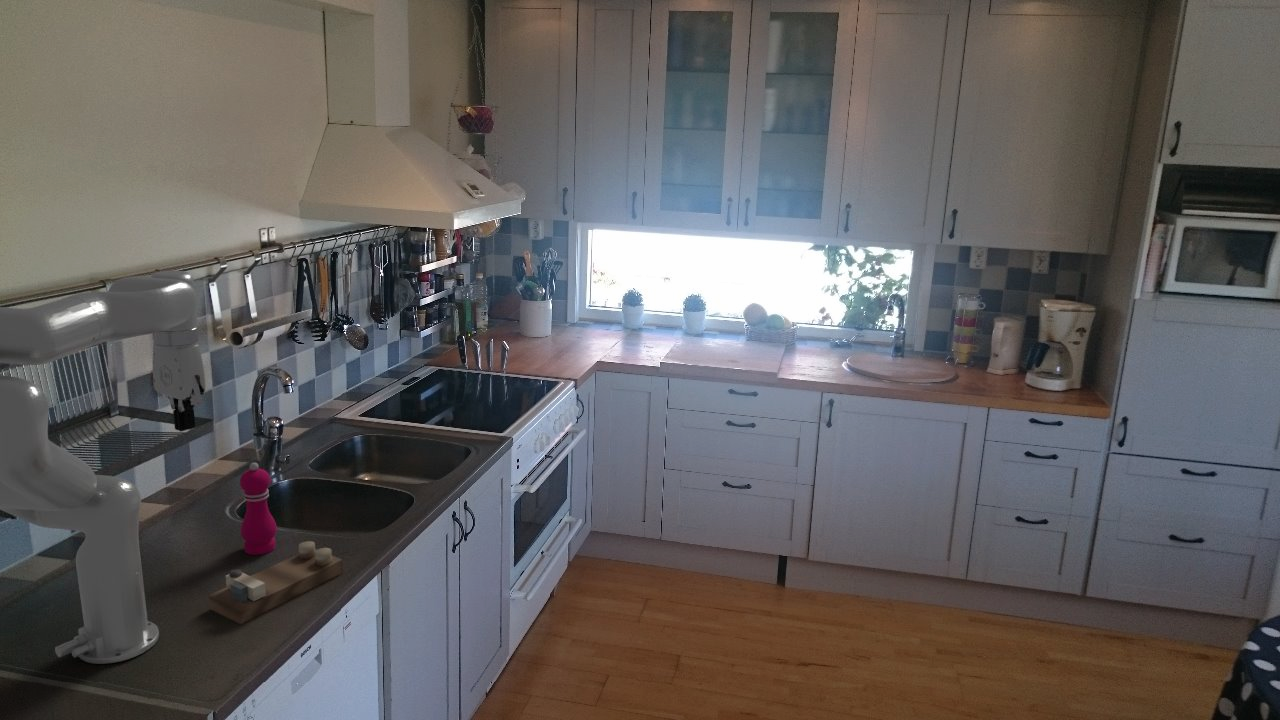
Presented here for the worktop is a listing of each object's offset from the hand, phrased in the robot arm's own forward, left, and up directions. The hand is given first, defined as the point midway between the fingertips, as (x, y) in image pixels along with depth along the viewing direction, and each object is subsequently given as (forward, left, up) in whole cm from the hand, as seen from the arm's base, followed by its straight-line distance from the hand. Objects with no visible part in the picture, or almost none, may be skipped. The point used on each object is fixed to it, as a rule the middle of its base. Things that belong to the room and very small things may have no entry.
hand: (185, 428), depth 173 cm
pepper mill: (+15, +1, -32) cm, 36 cm away
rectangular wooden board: (+6, -17, -32) cm, 37 cm away
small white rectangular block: (-2, -17, -29) cm, 34 cm away
